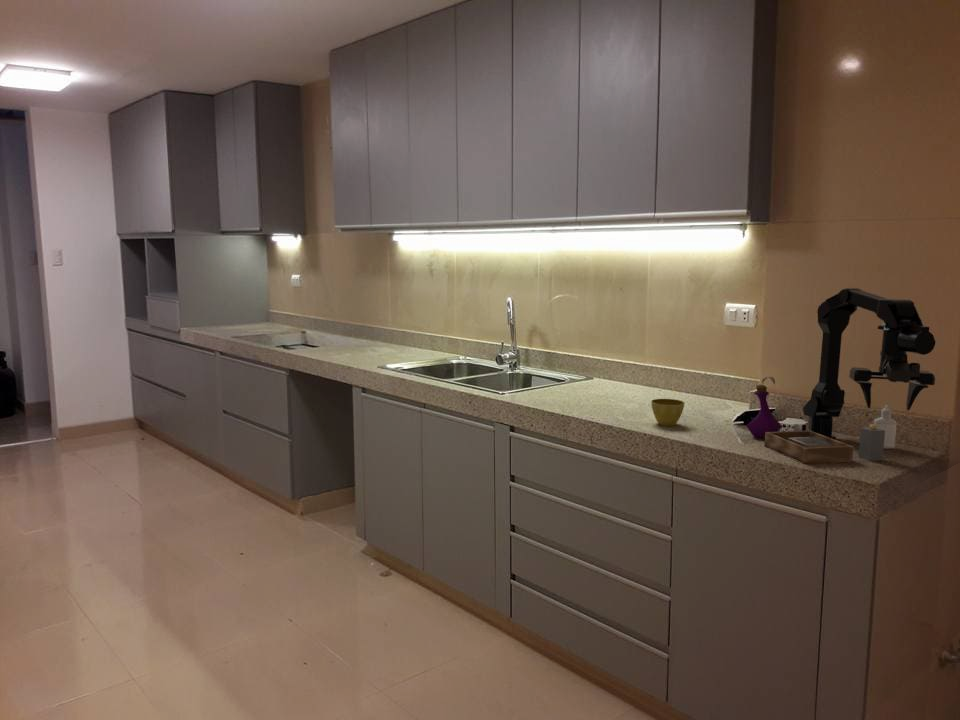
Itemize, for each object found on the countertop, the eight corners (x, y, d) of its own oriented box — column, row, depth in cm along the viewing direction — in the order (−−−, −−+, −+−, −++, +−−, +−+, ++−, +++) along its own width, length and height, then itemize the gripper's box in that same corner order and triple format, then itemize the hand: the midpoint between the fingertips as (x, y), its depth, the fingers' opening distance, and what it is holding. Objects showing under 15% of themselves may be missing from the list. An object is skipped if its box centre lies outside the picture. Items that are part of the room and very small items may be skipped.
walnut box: (764, 446, 215) (765, 432, 215) (809, 444, 218) (810, 430, 218) (804, 463, 198) (805, 448, 197) (852, 461, 201) (853, 446, 200)
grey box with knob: (858, 456, 206) (861, 423, 204) (871, 456, 206) (874, 423, 205) (869, 460, 202) (872, 427, 200) (882, 460, 203) (885, 426, 201)
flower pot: (660, 428, 235) (661, 405, 234) (644, 421, 245) (645, 399, 244) (689, 427, 238) (690, 404, 237) (673, 420, 247) (674, 398, 246)
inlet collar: (787, 448, 210) (787, 437, 209) (813, 447, 212) (814, 436, 211) (805, 456, 202) (806, 445, 202) (832, 455, 204) (833, 443, 203)
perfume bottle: (745, 436, 226) (749, 376, 224) (757, 432, 231) (761, 373, 229) (770, 441, 221) (774, 379, 218) (781, 437, 226) (786, 376, 224)
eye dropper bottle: (891, 450, 213) (895, 407, 211) (869, 446, 216) (873, 404, 215) (896, 447, 216) (900, 405, 214) (874, 444, 220) (878, 402, 218)
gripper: (862, 351, 192) (856, 413, 194) (945, 355, 187) (938, 418, 190) (851, 345, 202) (846, 404, 205) (930, 349, 198) (924, 408, 200)
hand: (888, 408), depth 200 cm, fingers open, 9 cm apart
